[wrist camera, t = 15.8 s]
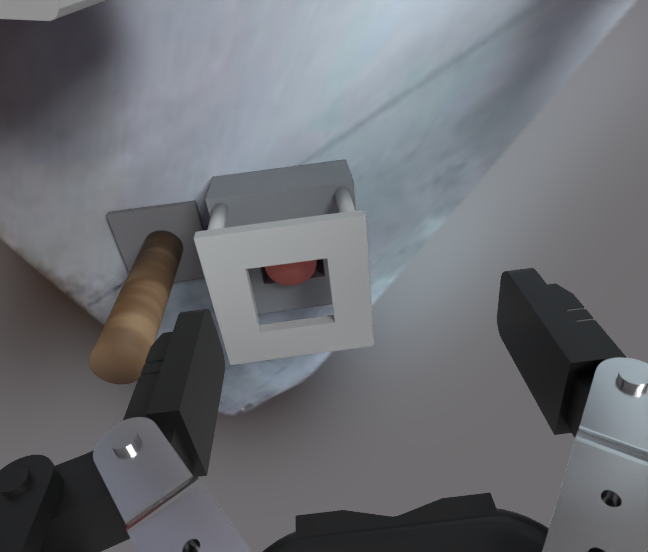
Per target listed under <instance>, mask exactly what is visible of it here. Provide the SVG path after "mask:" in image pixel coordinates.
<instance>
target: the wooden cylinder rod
mask: <svg viewBox="0 0 648 552" xmlns="http://www.w3.org/2000/svg"><path fill="white" fill-rule="evenodd" d="M182 254H183V244H182V242H181V240H180V239H179V238H178V237H177V236H176V235H175V234H173V233H171V232H169V231H164V230H159V231H154V232H152V233H150V234H149V235H148V236H147V237H146V239H145V241H144V243H143V245H142V247H141V249H140V251H139V253H138V255H137V258H136V260H135V262H134V264H133V266H132V268H131V270H130V272H129V275H128V277H127V279H126V281H125V283H124V285H123V287H122V289H121V291H120V294H119V296H118V298H117V300H116V302H115V304H114V306H113V308H112V311H111V313H110V315H109V317H108V319H107V321H106V323H105V325H104V327H103V330H102V332H101V334H100V336H99V338H98V340H97V342H96V344H95V347H94V349H93V351H92V353H91V355H90V358H89V365H90V368H91V370H92V371H93V373H94V374H95V375H96V376H98V377H99V378H101V379H102V380H104V381H107V382H110V383H114V384H129V383H132V382H135V381H137V380H138V379H139V377H141V371H142V368H143V366H144V364H145V360H146V358H147V355H148V352H149V350H150V347H151V346H152V345H153V344H154V342H155V339H156V336H157V333H158V329H159V326H160V323H161V320H162V317H163V314H164V311H165V307H166V304H167V301H168V298H169V295H170V292H171V289H172V285H173V282H174V279H175V276H176V273H177V270H178V267H179V263H180V260H181V257H182Z"/></svg>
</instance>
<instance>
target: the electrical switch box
mask: <svg viewBox="0 0 648 552" xmlns="http://www.w3.org/2000/svg"><path fill="white" fill-rule="evenodd" d="M104 1H107V0H0V19H15V20H38V21H52V20H55V19H58V18H60V17H63V16H66V15H68V14H71V13H74V12H77V11H79V10H82V9H85V8H87V7H90V6H93V5H96V4H98V3H101V2H104Z"/></svg>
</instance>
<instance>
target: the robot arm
mask: <svg viewBox="0 0 648 552" xmlns="http://www.w3.org/2000/svg"><path fill="white" fill-rule="evenodd" d="M497 324H498V330H499V333H500V336H501V339H502V341H503V342H504V344H505V346H506V348H507V350H508V351H509V353H510V355H511V357H512V359H513V360H514V362H515V364H516V366H517V368H518V370H519V371H520V373H521V375H522V377H523V378H524V380H525V382H526V384H527V386H528V388H529V390H530V391H531V393H532V395H533V397H534V399H535V400H536V402H537V404H538V406H539V408H540V410H541V411H542V413H543V415H544V416H545V419H546V420H547V422H548V424H549V426H550V428H551V429H552V431H553V433H554V435H557V434H565V433H572V434H573V436H574V437H575V441H574V445H573V448H572V452H571V455H570V458H569V462H568V465H567V469H566V472H565V475H564V479H563V483H562V486H561V489H560V492H559V496H558V499H557V503H556V506H555V510H554V513H553V517H552V520H551V523H550V527H549V528H547V527H546V526H544V525H543V524H541V523H539V522H537V521H535V520H532V519H531V518H529V517H526V516H523V515H521V514H518V513H515V512H511V511H507V510H504V509H497V508H496V507H495V504H494V501H493V499H492V496H491V493H484V494H475V495H468V496H458V497H450V498H442V499H439V500H437V501H434V502H432V503H430V504H427V505H424V506H422V507H419V508H417V509H414V510H412V511H409V512H407V513H404V514H402V515H399V516H395V517H390V516H382V515H375V514H368V513H360V512H353V511H346V510H340V511H332V512H324V513H315V514H307V515H298V516H296V532H293V533H291V534H289V535H287V536H285V537H283V538H281V539H279V540H278V541H276V542H275V543H273V544H272V545H270V546H269V547H268V548H266V549H265V550H264V551H263V552H648V364H647V363H645V362H642V361H639V360H635V359H631V358H627V357H626V356H625V355H624V354H623V353H622V352H621V350H620V349H619V348H618V347H617V346H616V344H615V343H614V342H613V341H612V340H611V338H610V337H609V336H608V335H607V334H606V333H605V331H604V330H603V329H602V328H601V326H600V325H599V324H598V323H597V322H596V321H595V320H593V317H592V316H591V315H590V313H589V312H588V311H587V310H585V309H584V306H583V305H582V304H581V303H580V302H579V300H578V299H577V298H576V297H575V296H574V294H572V293H571V292H569V291H567V290H566V289H564V288H562V287H560V286H559V285H557V284H549V285H547V284H546V283H545V281H544V280H543V279H542V277H541V276H540V275H539V274H538V272H537V271H536V270H535V269H534V268H528V269H520V270H512V271H505V272H503V273H502V276H501V282H500V292H499V302H498V312H497ZM224 371H225V362H224V354H223V350H222V347H221V344H220V340H219V337H218V334H217V331H216V328H215V325H214V322H213V318H212V315H211V313H210V311H209V310H208V309H203V310H196V311H188V312H181V313H180V314H179V315H178V318H177V321H176V324H175V327H174V330H173V332H167V333H163V334H162V335H161V336H160V337H159V338H158V339H157V340H156V341H155V342H154V344H153V345H152V346H151V347H150V350H149V352H148V355H147V358H146V360H145V364H144V366H143V368H142V371H141V377H139V379H138V382H137V384H136V387H135V390H134V393H133V395H132V398H131V400H130V403H129V406H128V409H127V411H126V414H125V417H124V419H123V421H121V422H119V423H117V424H115V425H114V426H112V427H111V428H110V429H108V430H107V431H106V432H105V433H104V434H103V435H102V436H101V438H100V439H99V440H98V442H97V444H96V446H95V448H94V450H93V451H92V452H89V453H87V454H85V455H82V456H80V457H77V458H74V459H72V460H69V461H67V462H64V463H61V464H59V465H56V466H54V464H53V463H52V462H51V460H50V459H49V458H47V457H46V456H43V455H30V456H26V457H23V458H20V459H18V460H15V461H14V462H12V463H10V464H8V465H7V466H5V467H4V468H3V469H1V470H0V552H101V551H103V550H105V549H108V548H110V547H112V546H114V545H117V544H119V543H121V542H123V541H126V540H128V539H130V538H131V540H132V542H133V544H134V546H135V548H136V550H137V552H252V551H251V550H250V548H249V547H248V545H247V544H246V543H245V541H244V540H243V538H242V537H241V536H240V534H239V533H238V532H237V530H236V529H235V527H234V526H233V525H232V523H231V522H230V521H229V519H228V518H227V516H226V515H225V513H224V512H223V511H222V509H221V508H220V506H219V505H218V504H217V502H216V501H215V500H214V498H213V497H212V495H211V494H210V493H209V491H208V490H207V488H206V487H205V486H204V484H203V483H202V482H201V480H200V479H199V478H198V476H206V475H207V472H208V466H209V460H210V453H211V448H212V443H213V437H214V430H215V425H216V419H217V413H218V407H219V401H220V396H221V390H222V384H223V378H224Z"/></svg>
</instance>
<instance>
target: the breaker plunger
mask: <svg viewBox="0 0 648 552" xmlns="http://www.w3.org/2000/svg"><path fill="white" fill-rule="evenodd" d="M316 265H317V261H316V260H310V261H303V262H295V263H288V264H280V265H273V266H265V270H266V272H267V274H268V276H269V277H270V278H271V279H272V280H274V281H275V282H277V283H279V284H282V285H289V286H292V285H298V284H301V283H303V282H305V281H307V280H308V279H309V278H310V277H311V276H312V275H313V273H314V272H315V269H316Z"/></svg>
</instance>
